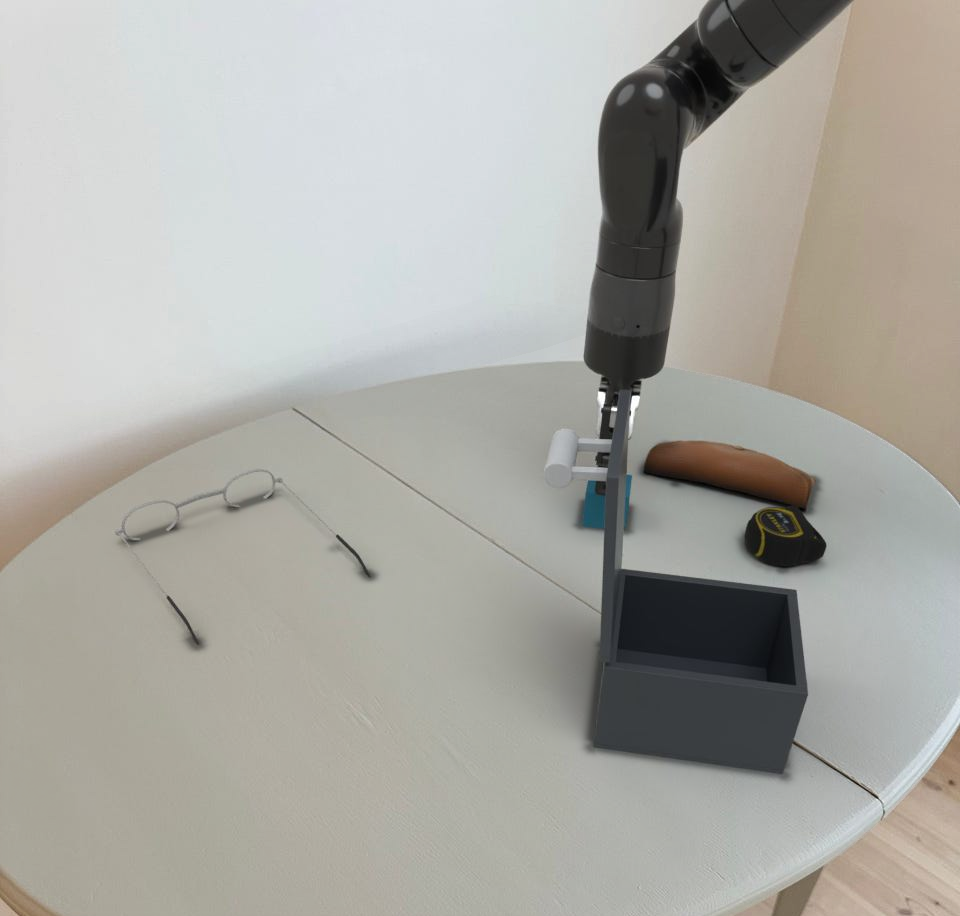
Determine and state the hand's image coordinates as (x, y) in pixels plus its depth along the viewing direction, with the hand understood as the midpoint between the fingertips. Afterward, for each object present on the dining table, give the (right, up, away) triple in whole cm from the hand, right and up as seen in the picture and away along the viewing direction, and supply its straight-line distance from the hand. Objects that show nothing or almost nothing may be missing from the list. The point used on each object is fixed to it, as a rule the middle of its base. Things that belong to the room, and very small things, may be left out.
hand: (609, 472), depth 100 cm
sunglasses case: (+15, +1, +10) cm, 18 cm away
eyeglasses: (-36, -10, -4) cm, 38 cm away
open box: (+4, -23, -18) cm, 29 cm away
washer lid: (-3, -9, -28) cm, 29 cm away
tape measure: (+17, -8, 0) cm, 19 cm away
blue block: (0, -4, +4) cm, 6 cm away
